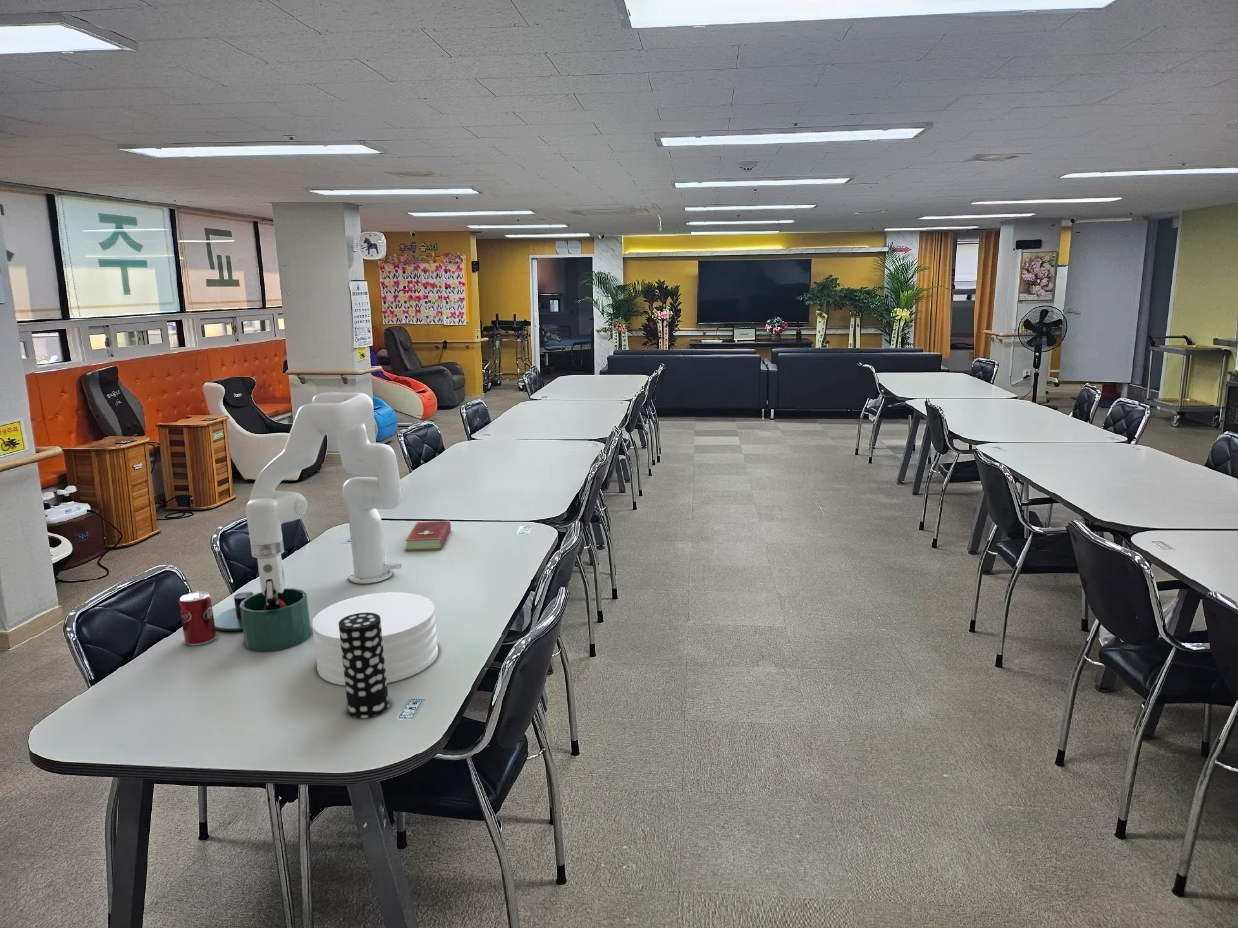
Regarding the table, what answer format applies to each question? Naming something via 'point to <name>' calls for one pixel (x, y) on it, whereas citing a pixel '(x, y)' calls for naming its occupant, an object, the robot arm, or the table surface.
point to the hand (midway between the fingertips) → (276, 614)
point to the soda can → (197, 618)
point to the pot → (275, 621)
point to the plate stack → (402, 634)
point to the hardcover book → (428, 535)
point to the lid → (232, 615)
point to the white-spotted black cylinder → (364, 664)
